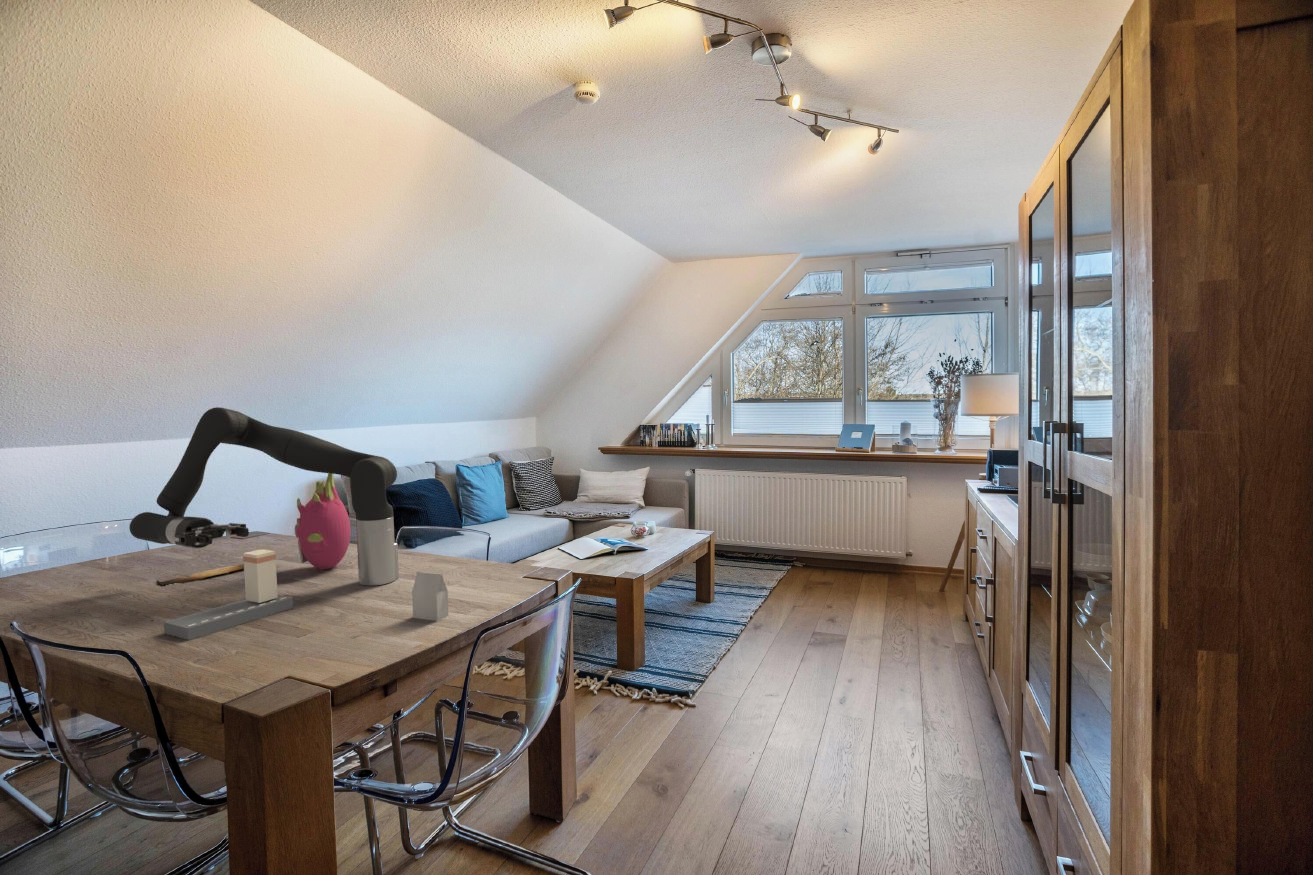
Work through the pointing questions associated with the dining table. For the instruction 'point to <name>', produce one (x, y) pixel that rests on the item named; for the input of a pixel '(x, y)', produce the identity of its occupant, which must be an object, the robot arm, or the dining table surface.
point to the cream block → (260, 575)
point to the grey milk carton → (429, 597)
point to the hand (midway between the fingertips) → (229, 535)
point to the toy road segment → (225, 617)
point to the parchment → (202, 575)
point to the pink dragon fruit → (323, 527)
